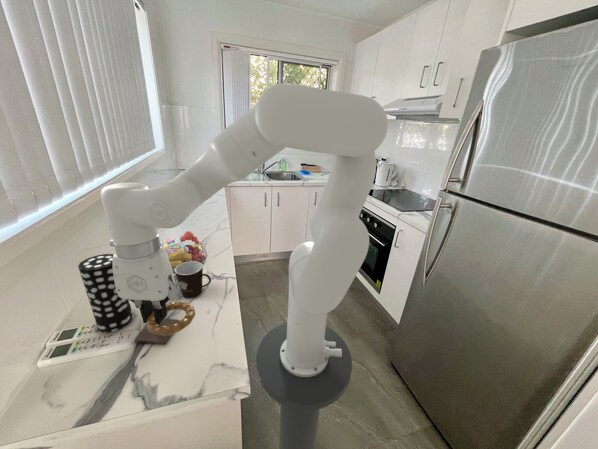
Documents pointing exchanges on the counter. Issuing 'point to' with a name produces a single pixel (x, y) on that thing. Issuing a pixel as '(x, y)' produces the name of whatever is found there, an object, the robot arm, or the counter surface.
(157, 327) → the ring
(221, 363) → the counter surface
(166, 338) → the stand
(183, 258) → the candy platter
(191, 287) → the coffee mug
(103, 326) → the white-spotted black cylinder
